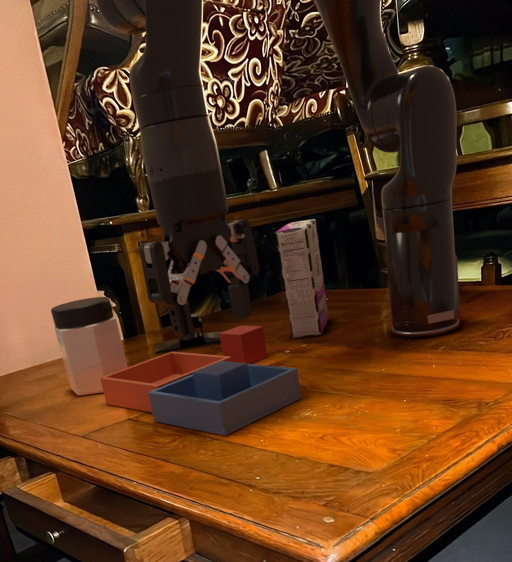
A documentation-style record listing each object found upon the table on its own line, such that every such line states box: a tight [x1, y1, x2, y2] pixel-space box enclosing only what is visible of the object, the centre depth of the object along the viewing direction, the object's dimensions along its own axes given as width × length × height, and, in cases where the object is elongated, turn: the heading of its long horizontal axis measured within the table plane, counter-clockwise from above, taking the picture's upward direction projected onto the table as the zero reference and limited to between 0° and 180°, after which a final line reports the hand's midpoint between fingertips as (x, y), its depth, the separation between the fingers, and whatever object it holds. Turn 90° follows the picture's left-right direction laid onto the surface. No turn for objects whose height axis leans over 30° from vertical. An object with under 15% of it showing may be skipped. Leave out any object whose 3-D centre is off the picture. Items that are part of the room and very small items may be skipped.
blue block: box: [192, 361, 251, 401], centre depth 79 cm, size 4×4×4 cm
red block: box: [219, 325, 268, 364], centre depth 99 cm, size 4×4×4 cm
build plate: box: [154, 312, 225, 355], centre depth 116 cm, size 12×7×5 cm, turn 95°
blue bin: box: [148, 363, 302, 437], centre depth 79 cm, size 12×12×4 cm
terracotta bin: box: [100, 351, 232, 414], centre depth 90 cm, size 12×12×4 cm
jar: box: [50, 296, 129, 396], centre depth 98 cm, size 9×8×12 cm
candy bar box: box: [275, 218, 330, 339], centre depth 109 cm, size 11×5×16 cm, turn 168°
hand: (215, 328), depth 76 cm, fingers open, 8 cm apart
